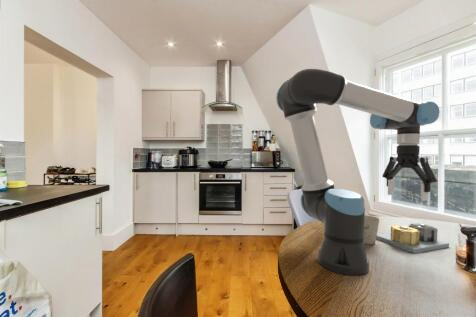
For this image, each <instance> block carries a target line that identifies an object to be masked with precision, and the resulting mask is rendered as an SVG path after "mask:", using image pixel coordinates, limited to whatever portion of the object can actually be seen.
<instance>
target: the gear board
mask: <svg viewBox="0 0 476 317" xmlns="http://www.w3.org/2000/svg"><path fill="white" fill-rule="evenodd" d="M401 226H402V227H401V229H403V230H409V228H408V227H409V226H407V227H404V226H405V225H401ZM376 240H379V241H381V242H384V243H386V244H389V245H391V246H394V247H397V248H399V249H402V250H405V251H407V252H409V253H412V254H417V253H423V252H427V251H428V252H429V251H435V250H438V249H439V250H440V249H445V248H449V247H450V243H449V242H446V241H443V240H440V239H437V240H436V242H425V241H420V240H419V244H416V245H408V244H402V243H399V242H396V241H393V240H392V238H391V232H389V233H380V234H377V236H376Z"/></svg>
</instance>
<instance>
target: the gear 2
mask: <svg viewBox="0 0 476 317" xmlns="http://www.w3.org/2000/svg"><path fill="white" fill-rule="evenodd" d="M408 227H411V228H415V229H417V230H418V231H419V232H420V239H419V240H420V241H425V242H436V240H438V228H437V227H434V226H432V225H428V224H424V223H410V224H408Z"/></svg>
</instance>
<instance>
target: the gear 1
mask: <svg viewBox="0 0 476 317" xmlns="http://www.w3.org/2000/svg"><path fill="white" fill-rule="evenodd" d="M402 226H404V227H408V228H409V230H403V229H401V227H402ZM390 233H391V238H392V240H393V241H396V242H399V243H402V244H408V245H416V244H419V239H420V232H419V231H418V230H417V229H415V228H411V227H409V226H406V225H398V224H397V225H391V226H390Z"/></svg>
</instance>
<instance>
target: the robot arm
mask: <svg viewBox="0 0 476 317" xmlns="http://www.w3.org/2000/svg"><path fill="white" fill-rule="evenodd" d="M275 99H276V104H277V107H278V108H279V109H280V110H281V111H282V112H283V115H284V119H285V120H287V121H288V122H289V123H290V127H291V130H292V135H293V139H294V144H295V148H296V152H297V156H298V160H299V165H300V169H301V174H302V177H303V182H304V183H303V185H302V186H301V192H302V195H301V196H300V206H301V208H302V210H303V211H304V212H305V213H306V214H307V215H308V216H309V217H310V218H312V219H314V220H317V221H319V222H321V223H323V224H324V227H323V228H324V229H323V230H324V231H323V233H324V234H323V240H322V243H321V245H320V249H319V250H318V253H317V261H318V263H319V265H321V266H322V267H324V268H325V269H327V270H329V271H331V272H334V273H338V274H342V275H347V276H361V275H365V274H367V273H368V272H369V271H370V261H369V258H368V256H367V251H366V248H365V244H364V243H363V241H364V217H365V215H366V214H365V213H366V207H365V204H366V203H365V199H364V197H363V196H362V195H361V194H360V193H358V192H356V191H353V190H347V189H342V188H335V185H334V182H333V180H330V179H329V178H328V175H327V174H328V173H327V170H326V169H327V168H326V164H325V160H324V156H323V152H322V148H321V147H322V146H321V143H320V139H319V138H320V137H319V134H318V130H317V124H316V120H315V116H314V115H315V114H316V112H317V111H318V110H317V105H316V104H323V105H329V106H334V105H336V104H337V105H339V106H343V107H347V108H351V109H354V110H358V111H360V112H364V113H368V114H371V115H370V117H369V124H370V126H371V128H373V129H377V130H391V131H392V130H394V131H396V132H397V133H396V134H397V135H396V144H397V146H396V155H397V157H396V156H389V160H388V164H387V165H386V168H385V170H384V171H383V174H382V178H384V179H386V187H387V195H388V196H393V195H395V179H394V177H395V176H396V175H397V174H398V173H400V171H401V170H402V169H411V170H413V171H414V172H415V174H416V175H417V176H418V177H419V179H420V180H421V181H422V183H421V184H420V202H425V201H427V202H428V200H429V193H430V192H431V185H432V184H434V183H437V178H436V176H435V174H434V171H433V170H432V168H431V166H430V164H429V157H427V156H425V157H424V156H422V157H421V156H419V155H420V147H421V146H420V144H421V143H420V142H421V126H426V125H431V124H434V123H435V122H436V121H437V120H438V119H439V117H440V116H439V115H440V107H439V105H438V104H437V103H436V102H434V101H432V100H427V101H421V102H417V101H413V100H410V99H407V98H403V97H400V96H398V95H393V94H392V93H387V92H384V91H382V90H378V89H374V88H371V87H369V86H365V85H363V84H359V83H355V82H352V81H350V80H347V79H346V77H345V76H344V75H343V74H339V73H337V72H333V71H329V70H325V69H318V68H305V69H302V70H300V71H297V72H296V73H295V74H294V75H293V76H292V77H290V78H289V79H287V80H286V81H284V82H283V83H282V84H281V86H280V87H279V88H278V90H277V92H276V98H275ZM396 162H397V163H396ZM419 163H420V165H419Z"/></svg>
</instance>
